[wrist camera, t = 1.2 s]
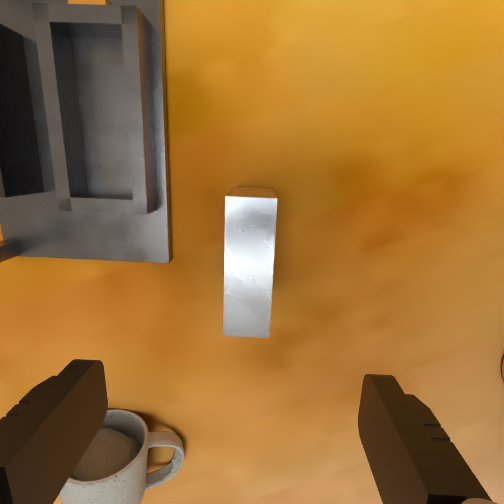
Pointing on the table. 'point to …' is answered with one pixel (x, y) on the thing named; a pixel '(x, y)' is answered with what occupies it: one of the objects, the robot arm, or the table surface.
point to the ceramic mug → (120, 462)
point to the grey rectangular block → (249, 261)
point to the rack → (84, 130)
